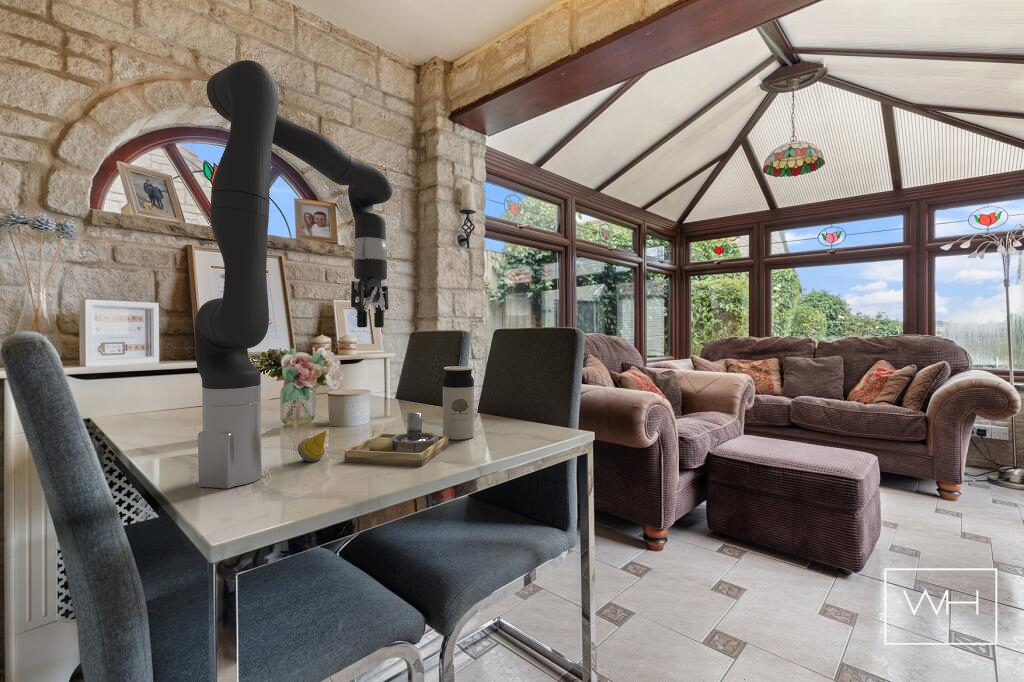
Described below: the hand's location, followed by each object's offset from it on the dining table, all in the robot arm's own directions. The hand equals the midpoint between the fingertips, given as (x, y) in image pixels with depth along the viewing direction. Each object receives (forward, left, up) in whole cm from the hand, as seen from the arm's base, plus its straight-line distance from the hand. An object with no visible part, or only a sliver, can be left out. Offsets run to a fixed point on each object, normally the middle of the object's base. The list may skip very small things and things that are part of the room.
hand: (370, 327), depth 114 cm
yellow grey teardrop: (-15, +5, -28) cm, 32 cm away
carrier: (-6, -10, -28) cm, 31 cm away
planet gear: (-4, -12, -27) cm, 30 cm away
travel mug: (+12, -18, -28) cm, 36 cm away
